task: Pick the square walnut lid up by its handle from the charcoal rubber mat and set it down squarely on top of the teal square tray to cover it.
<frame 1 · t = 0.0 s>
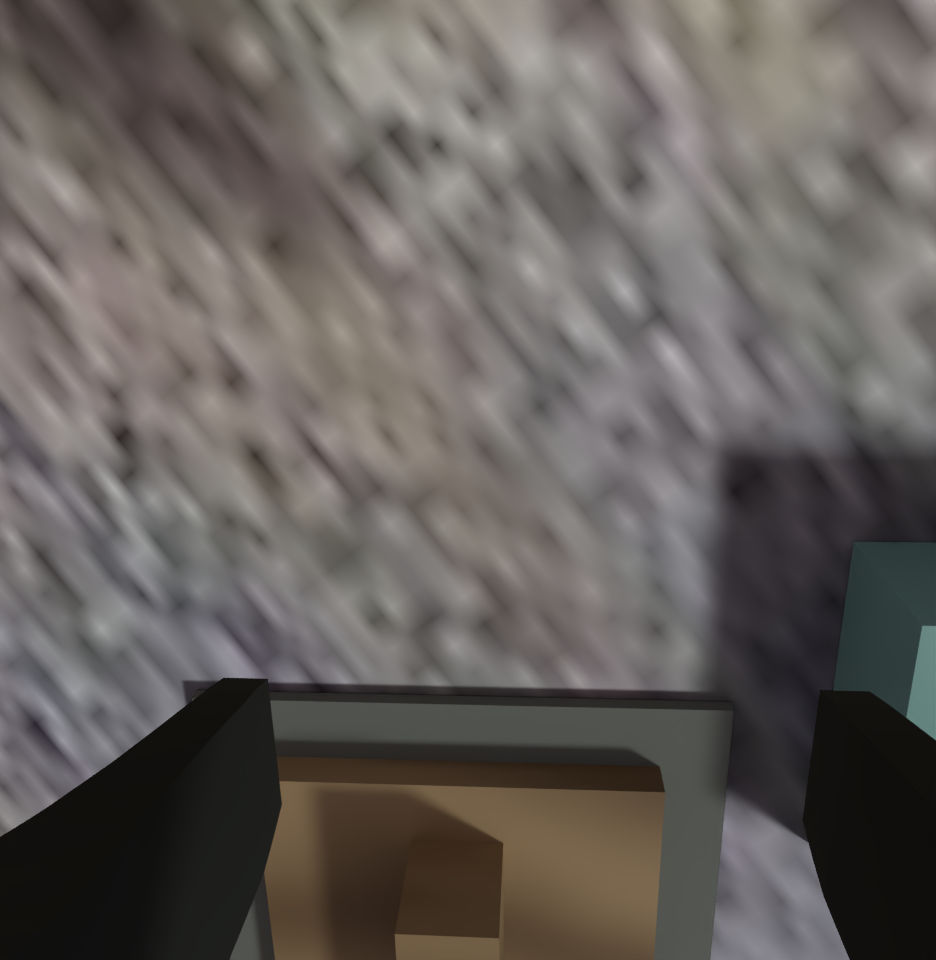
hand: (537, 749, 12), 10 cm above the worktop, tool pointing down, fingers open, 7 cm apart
lid: (463, 914, 25), resting on mat
mat: (464, 903, 26), on the worktop
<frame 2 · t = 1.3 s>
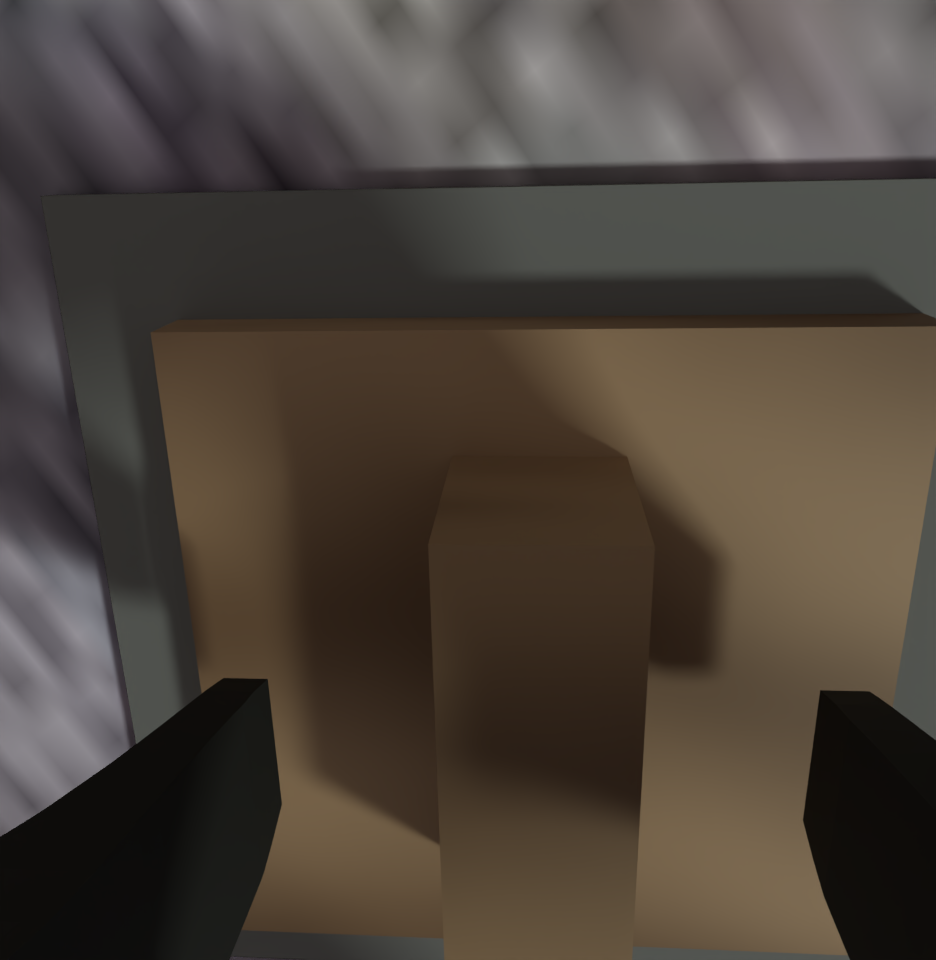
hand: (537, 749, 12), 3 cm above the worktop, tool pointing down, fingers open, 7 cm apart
lid: (537, 642, 14), resting on mat
mat: (537, 630, 15), on the worktop
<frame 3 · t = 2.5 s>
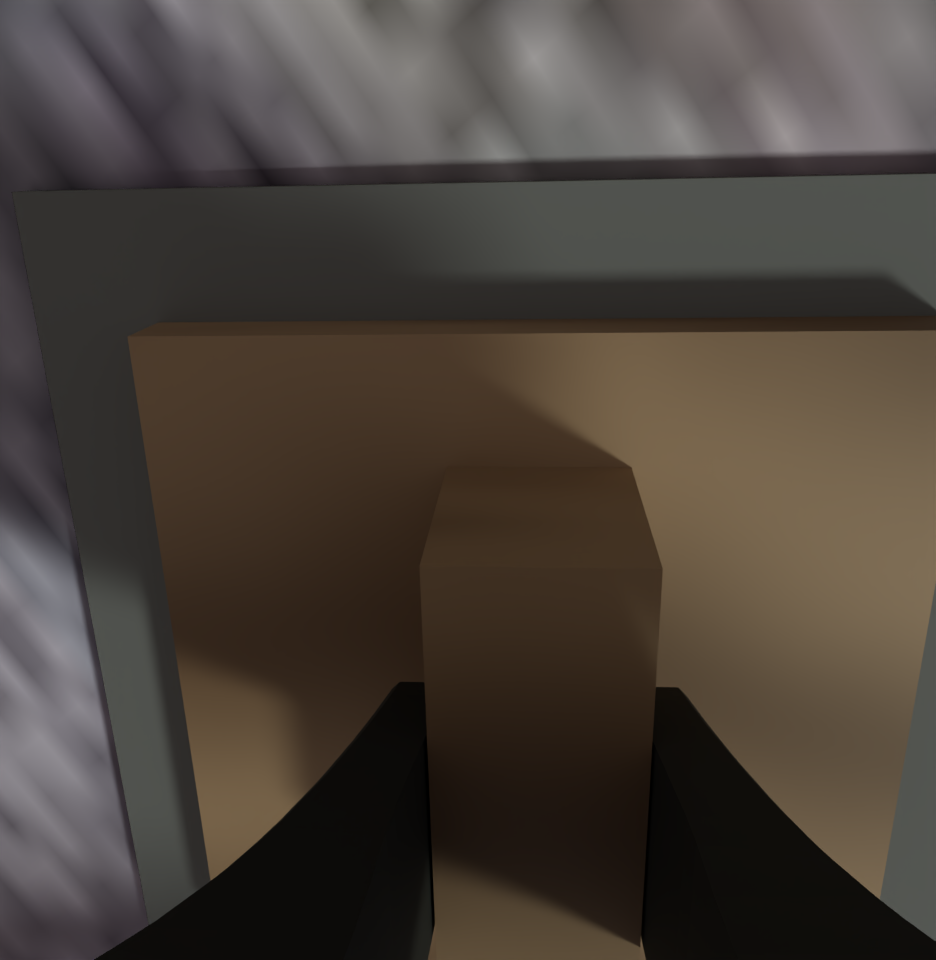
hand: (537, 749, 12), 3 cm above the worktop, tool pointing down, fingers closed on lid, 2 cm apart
lid: (536, 659, 14), resting on mat, touching gripper
mat: (536, 646, 14), on the worktop
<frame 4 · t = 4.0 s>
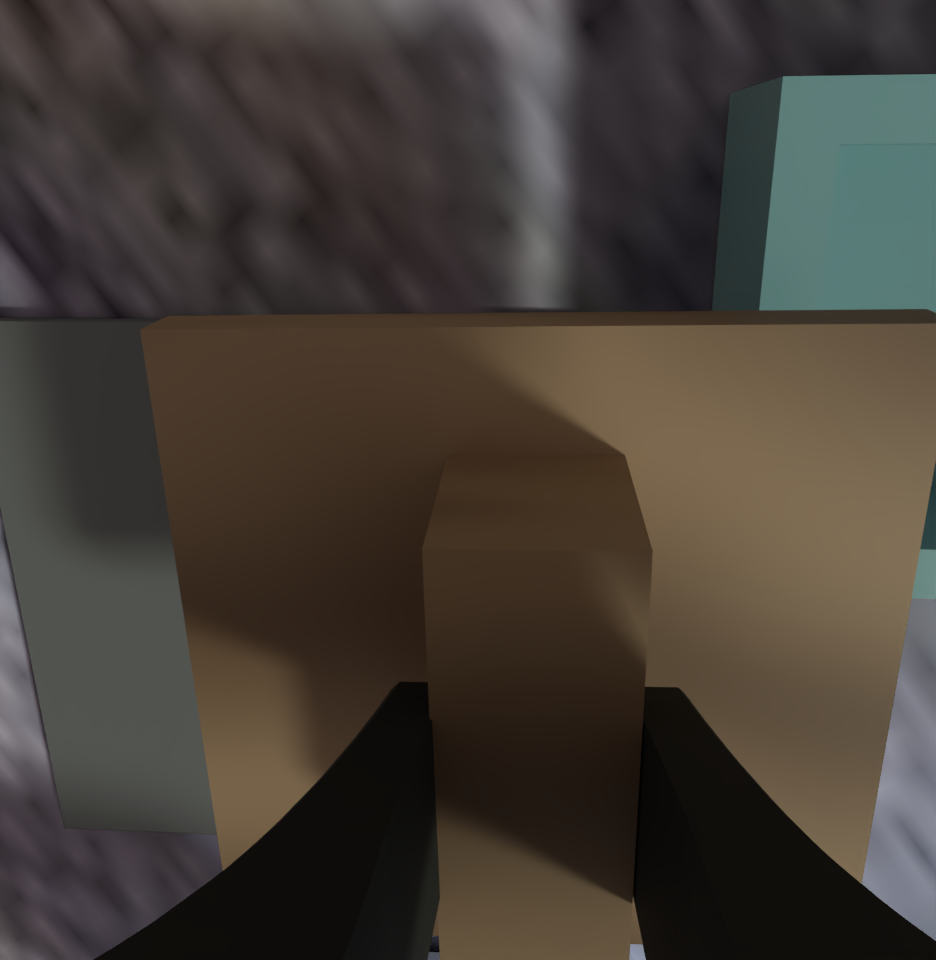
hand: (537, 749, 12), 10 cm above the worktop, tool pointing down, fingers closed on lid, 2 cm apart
teal square tray: (926, 321, 19), on the worktop
lid: (534, 640, 14), point 7 cm above the worktop, touching gripper
mat: (299, 600, 22), on the worktop
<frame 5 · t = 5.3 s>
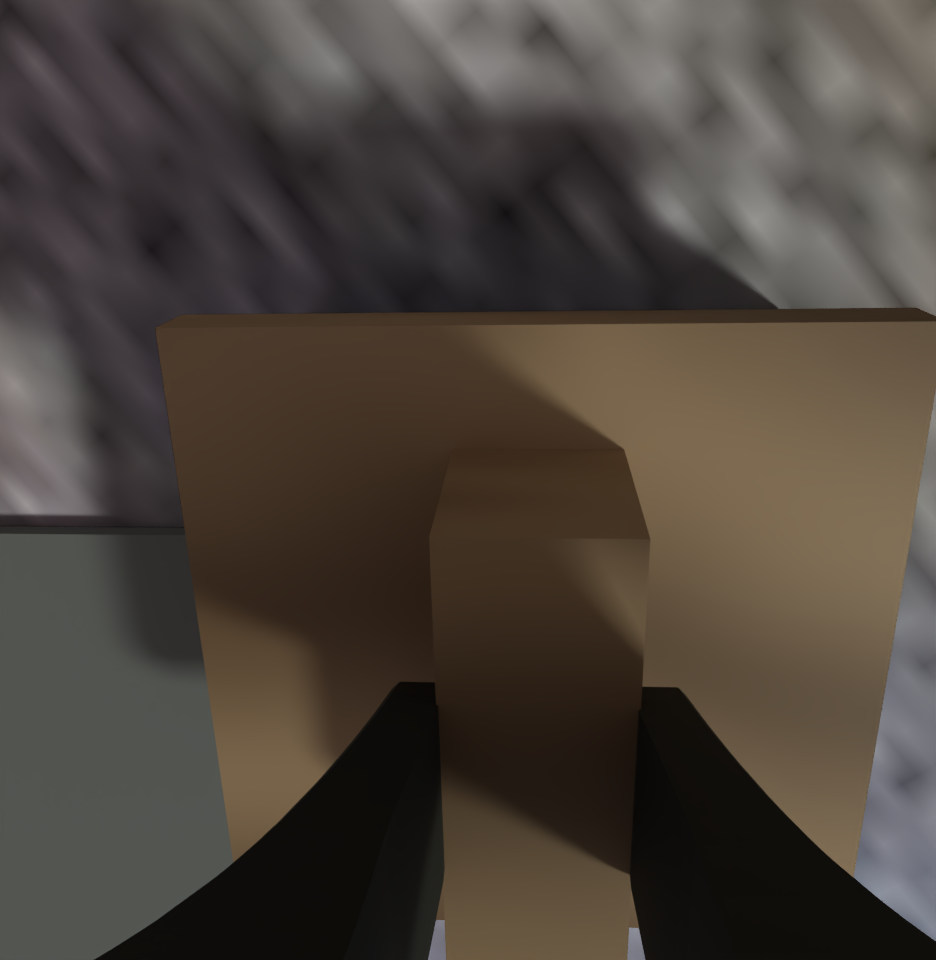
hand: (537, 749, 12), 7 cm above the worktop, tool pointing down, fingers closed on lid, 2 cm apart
lid: (536, 631, 15), point 4 cm above the worktop, touching teal square tray, gripper
when the fingers open (7 cm above the worktop, at t = 5.6 s): lid stays where it is, resting on teal square tray.
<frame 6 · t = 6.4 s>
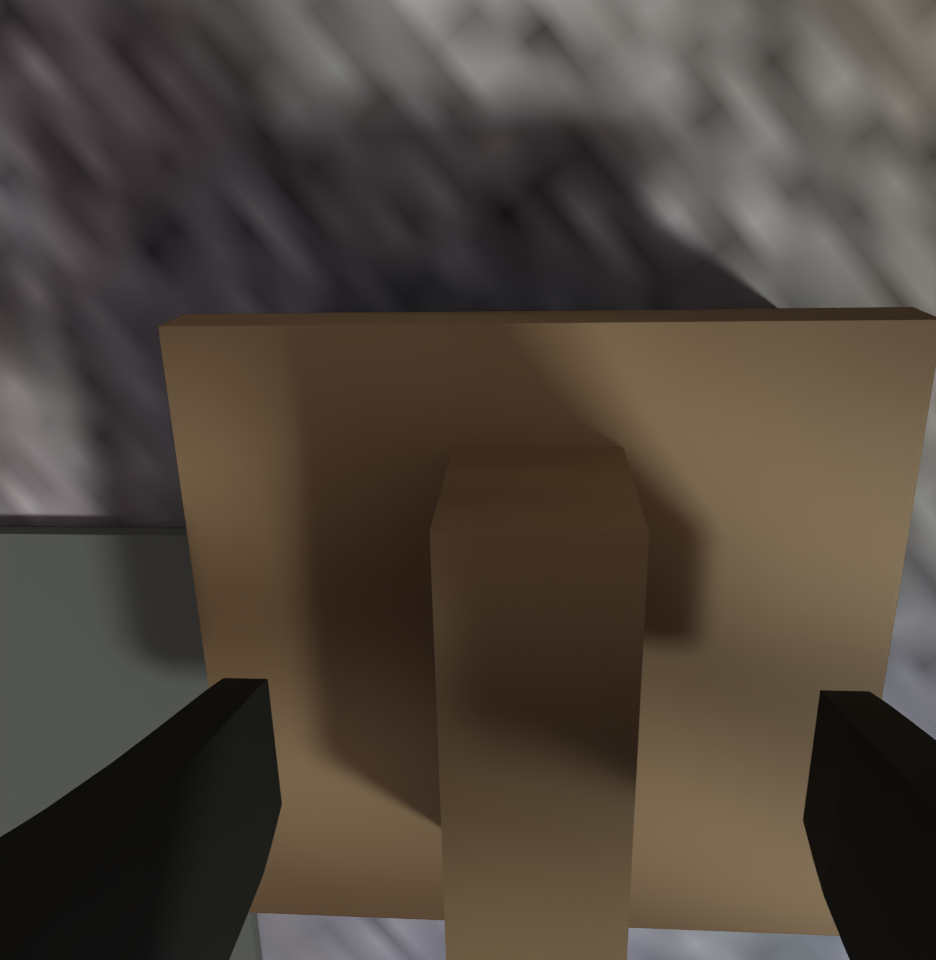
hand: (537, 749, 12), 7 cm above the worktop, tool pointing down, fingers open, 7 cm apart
lid: (535, 630, 15), point 4 cm above the worktop, touching teal square tray
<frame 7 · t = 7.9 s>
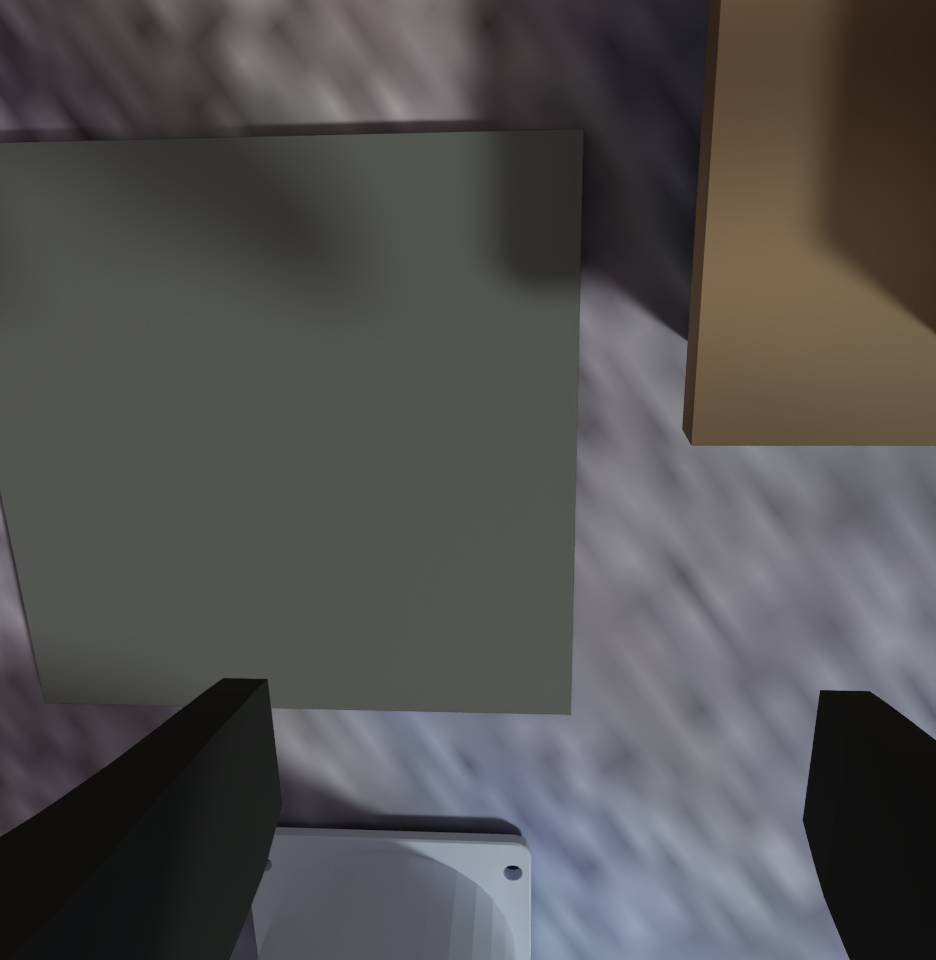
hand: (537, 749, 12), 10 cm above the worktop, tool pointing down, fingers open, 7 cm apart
mat: (282, 449, 21), on the worktop
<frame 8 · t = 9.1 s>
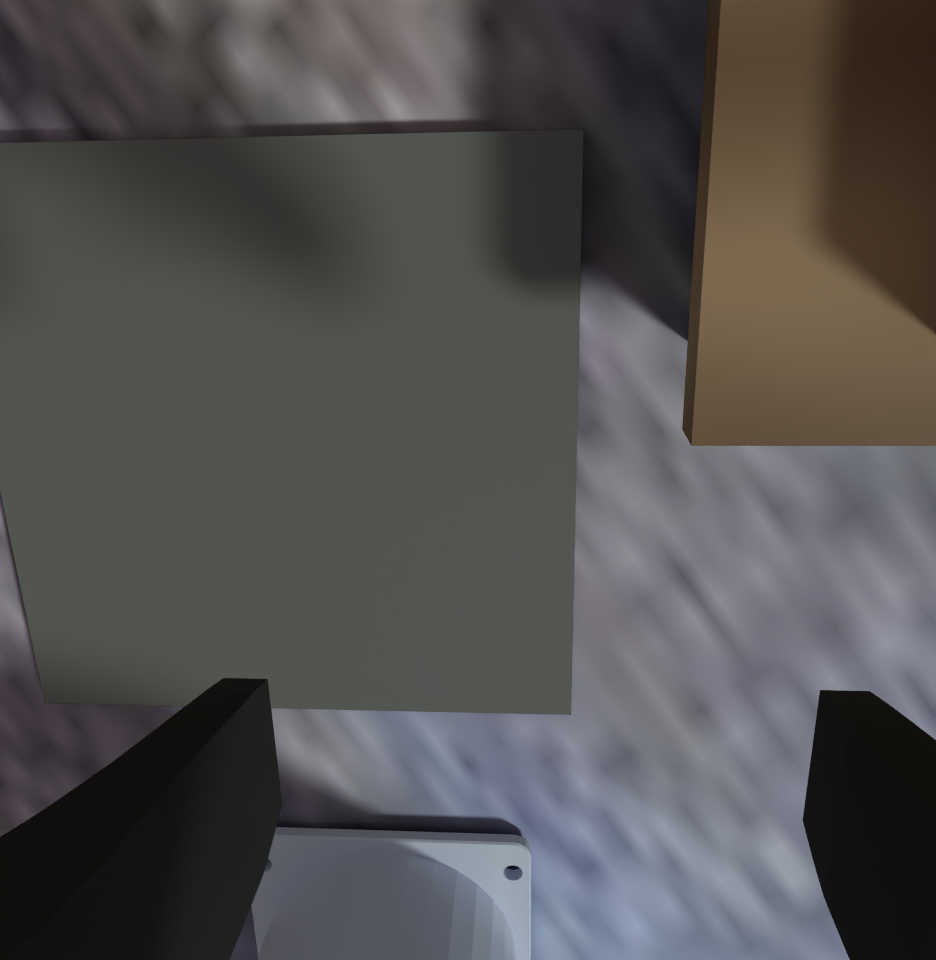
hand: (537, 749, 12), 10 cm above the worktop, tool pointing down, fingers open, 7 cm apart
mat: (282, 449, 21), on the worktop
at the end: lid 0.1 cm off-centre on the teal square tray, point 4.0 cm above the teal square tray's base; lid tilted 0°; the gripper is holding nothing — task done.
